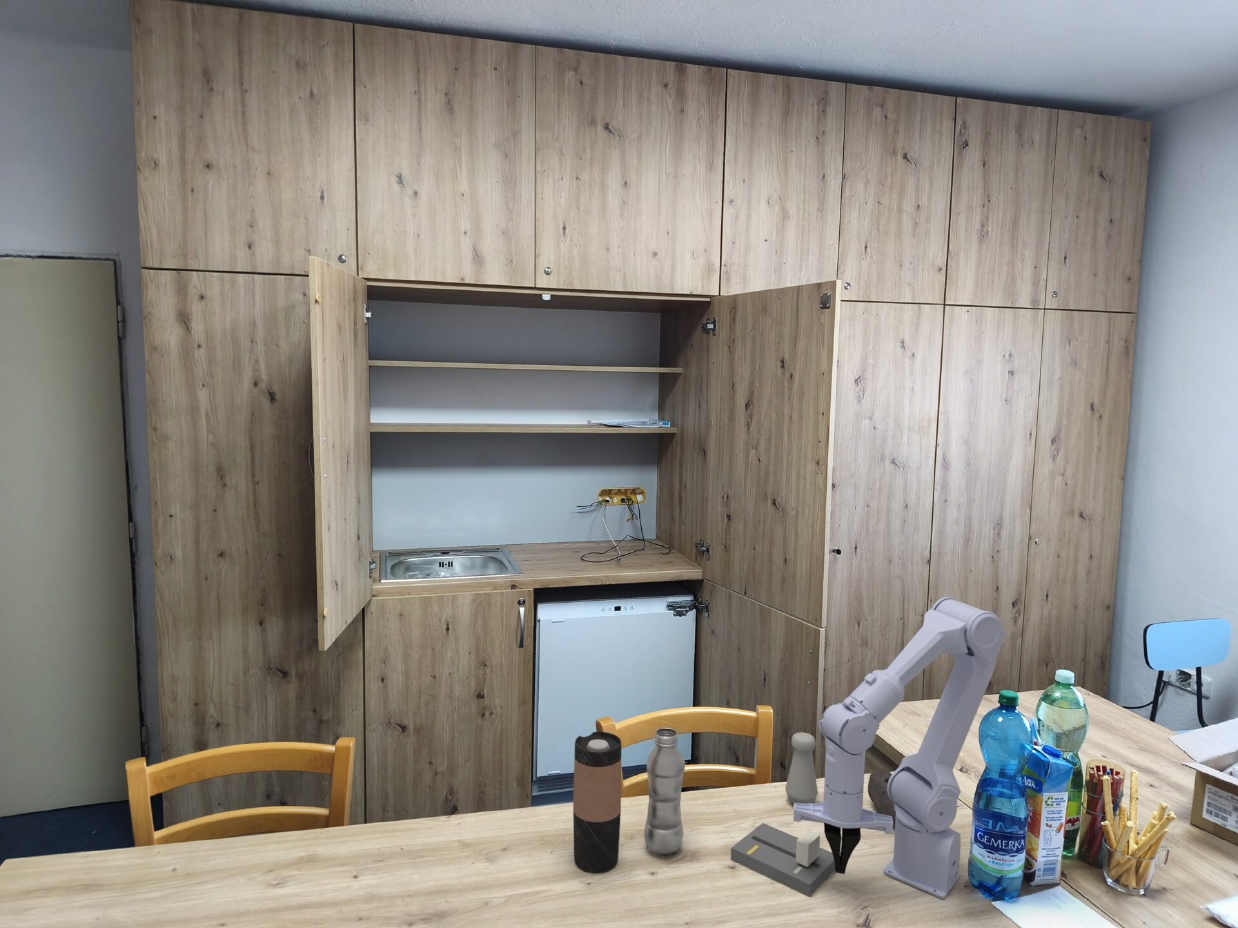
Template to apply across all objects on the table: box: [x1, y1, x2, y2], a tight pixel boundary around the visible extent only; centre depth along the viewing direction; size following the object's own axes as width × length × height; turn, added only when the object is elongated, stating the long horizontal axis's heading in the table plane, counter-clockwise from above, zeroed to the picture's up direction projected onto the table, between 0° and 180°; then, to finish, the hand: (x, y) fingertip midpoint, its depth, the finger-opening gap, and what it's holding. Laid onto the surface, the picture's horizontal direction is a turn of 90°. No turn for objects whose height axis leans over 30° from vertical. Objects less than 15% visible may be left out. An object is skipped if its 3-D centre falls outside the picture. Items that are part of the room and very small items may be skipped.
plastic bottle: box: [643, 727, 686, 856], centre depth 129 cm, size 6×7×20 cm
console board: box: [730, 822, 835, 898], centre depth 126 cm, size 14×10×2 cm
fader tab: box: [796, 829, 821, 867], centre depth 123 cm, size 2×4×4 cm, turn 139°
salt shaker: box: [785, 731, 819, 806], centre depth 144 cm, size 6×6×13 cm
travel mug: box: [572, 731, 622, 874], centre depth 125 cm, size 8×8×20 cm
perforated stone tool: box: [867, 769, 896, 829], centre depth 138 cm, size 15×5×7 cm, turn 6°
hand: (839, 869), depth 120 cm, fingers closed
